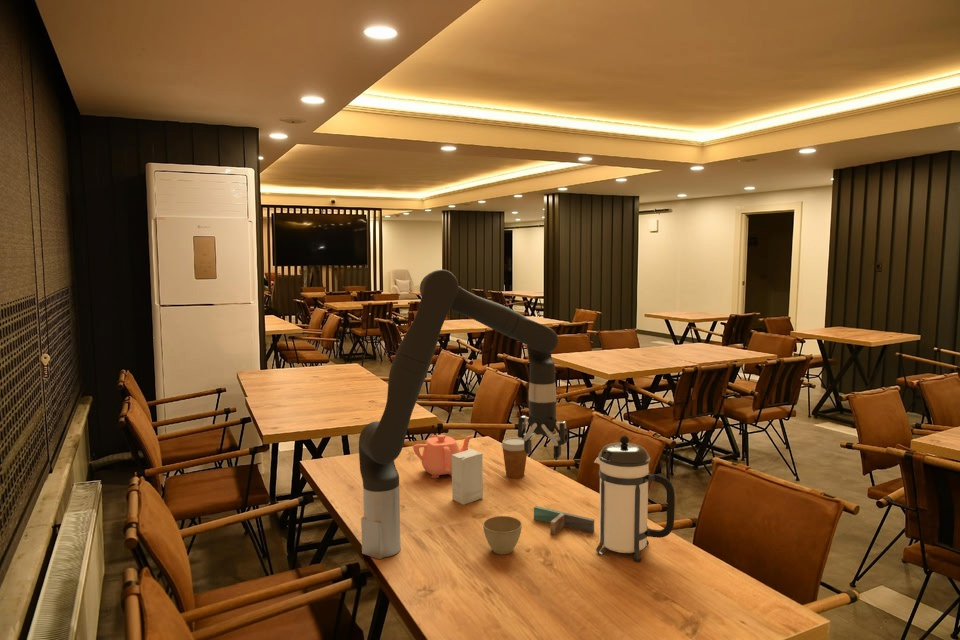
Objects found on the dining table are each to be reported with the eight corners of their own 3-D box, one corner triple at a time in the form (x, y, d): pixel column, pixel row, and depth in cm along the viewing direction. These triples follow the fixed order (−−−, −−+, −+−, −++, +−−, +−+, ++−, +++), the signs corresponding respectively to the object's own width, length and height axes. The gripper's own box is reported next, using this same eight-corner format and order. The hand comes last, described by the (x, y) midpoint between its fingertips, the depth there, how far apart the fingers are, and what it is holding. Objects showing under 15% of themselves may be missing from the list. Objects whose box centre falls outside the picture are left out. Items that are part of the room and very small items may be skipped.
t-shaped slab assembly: (583, 542, 168) (583, 529, 168) (523, 527, 178) (523, 515, 177) (594, 531, 175) (594, 519, 174) (535, 517, 184) (535, 505, 184)
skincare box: (472, 493, 203) (471, 448, 202) (484, 498, 199) (483, 452, 197) (450, 500, 198) (450, 453, 197) (462, 505, 193) (462, 458, 192)
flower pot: (498, 538, 171) (498, 512, 170) (529, 548, 165) (529, 522, 164) (475, 551, 163) (474, 524, 163) (506, 563, 157) (506, 535, 156)
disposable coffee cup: (496, 472, 222) (496, 439, 221) (520, 468, 226) (520, 435, 225) (509, 481, 214) (509, 446, 213) (534, 477, 218) (534, 442, 217)
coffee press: (611, 568, 154) (613, 448, 151) (583, 540, 169) (584, 430, 166) (675, 559, 159) (678, 441, 155) (642, 532, 174) (644, 425, 171)
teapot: (433, 462, 234) (432, 426, 232) (474, 469, 227) (474, 432, 225) (410, 476, 219) (410, 438, 218) (454, 484, 212) (454, 444, 211)
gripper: (513, 398, 175) (513, 455, 177) (560, 404, 168) (560, 463, 169) (525, 392, 181) (525, 448, 183) (571, 398, 174) (571, 456, 176)
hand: (542, 455), depth 176 cm, fingers open, 8 cm apart
